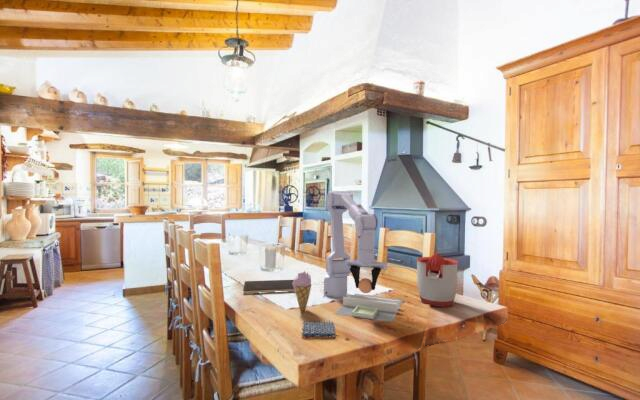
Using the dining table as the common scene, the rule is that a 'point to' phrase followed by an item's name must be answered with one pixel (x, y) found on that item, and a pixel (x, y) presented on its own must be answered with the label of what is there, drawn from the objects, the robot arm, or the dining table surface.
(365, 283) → the ball
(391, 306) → the grey ridged board
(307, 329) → the woven mat
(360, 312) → the dish
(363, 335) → the dining table surface
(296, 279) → the ice cream cone
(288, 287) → the hardcover book
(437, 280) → the citrus juicer
